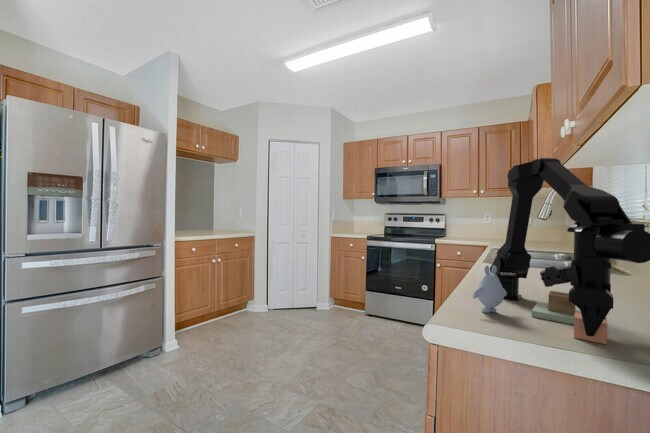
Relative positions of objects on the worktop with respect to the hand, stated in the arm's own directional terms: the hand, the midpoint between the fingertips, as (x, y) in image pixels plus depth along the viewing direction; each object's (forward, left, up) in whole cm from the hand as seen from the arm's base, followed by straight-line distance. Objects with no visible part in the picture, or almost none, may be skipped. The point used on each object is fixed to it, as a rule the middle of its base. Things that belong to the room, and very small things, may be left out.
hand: (590, 332), depth 63 cm
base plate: (-13, -5, -1) cm, 14 cm away
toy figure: (-4, -19, -1) cm, 20 cm away
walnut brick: (-13, -5, 0) cm, 14 cm away
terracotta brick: (0, 0, -1) cm, 1 cm away
